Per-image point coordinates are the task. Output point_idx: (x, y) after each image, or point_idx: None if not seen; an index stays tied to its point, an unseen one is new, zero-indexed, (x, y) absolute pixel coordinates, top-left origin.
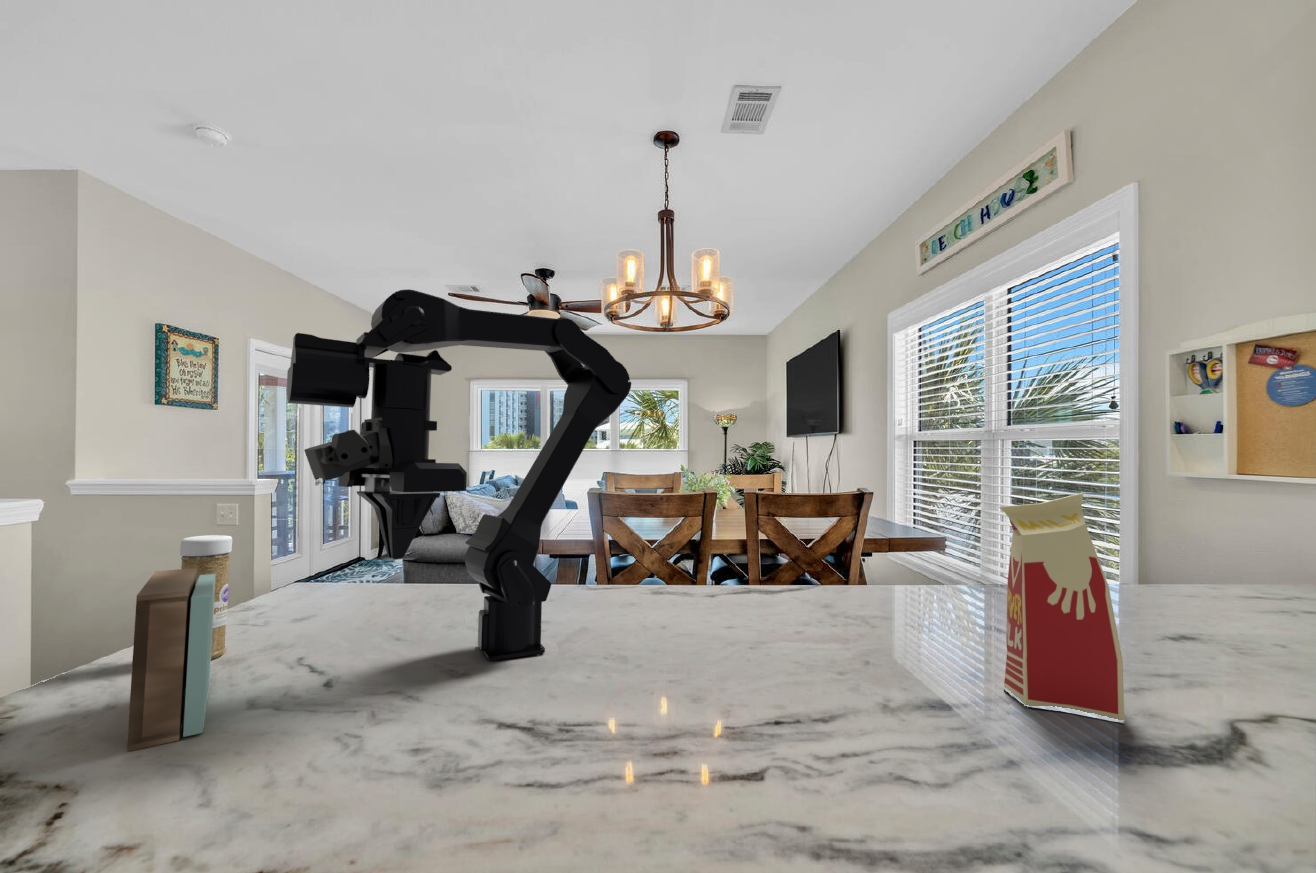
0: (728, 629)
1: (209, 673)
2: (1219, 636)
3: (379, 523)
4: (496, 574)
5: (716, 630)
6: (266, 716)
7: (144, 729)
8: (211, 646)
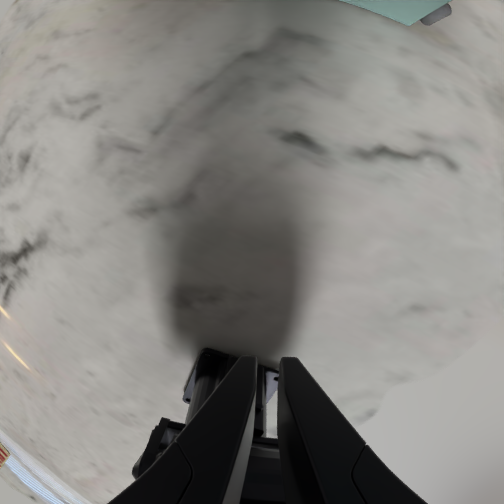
0: None
1: (392, 5)
2: (30, 499)
3: (367, 456)
4: (155, 452)
5: None
6: (230, 38)
7: None
8: (436, 8)
